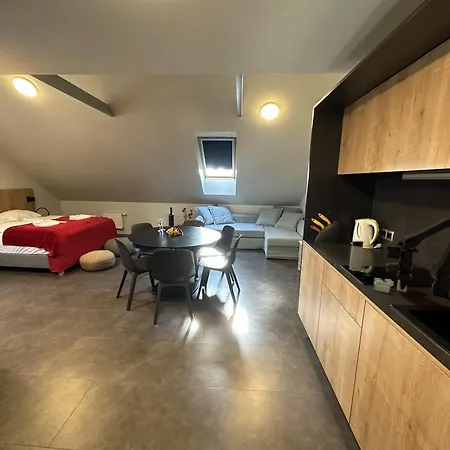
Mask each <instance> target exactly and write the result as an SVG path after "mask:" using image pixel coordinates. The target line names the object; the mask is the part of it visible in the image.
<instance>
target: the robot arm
mask: <svg viewBox="0 0 450 450" xmlns="http://www.w3.org/2000/svg"><path fill="white" fill-rule="evenodd" d="M447 228H450V218H441V219H440V220H438V221H436V222H435V223H433V224H431V225H429V226H427V227H425V228H423V229H420V230H419V231H417V232H413V233H409V234H406V235H403V236H402V237H401V239H400V241H398V242H397V243H396V244H395V245H389V244H386V246H385V247H384V249H383V252H382V253H383V258H384V259H394V260H398V262H396V261H395V262H389V263H385V266H386V267H385V268H386V269H387V272H391V271H396V273H397V274H396V279H398V280H400V287H401V290H404V288H405V287H406V286H407V287H408V285H409V283H411V282H412V281H413V275H412V268H413V265H414V264H413V262H414V255H415V253H420V251H419V250H418V249H417V246H419V245H421V243H422V242H423V241H424V240H426V239H427V238H430V237H431V236H433V235H435V234H438V233H440V232H441V231H443V230H445V229H447ZM429 275H430V276H431V277H432V279H433V280H434V282H433V283H432V284H431V285H432V286H431V292H432V294H433V296H434V295H435V296H440V297H444V298H450V242H449V243H448V245H447V247H446V249H445V251H444V253H443V254H442V256H441V259H440V260H439V261H438V262H437V263H436V262H433V263H432V264H431V267H430V268H429Z"/></svg>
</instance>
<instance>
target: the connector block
mask: <svg viewBox="0 0 450 450" xmlns="http://www.w3.org/2000/svg"><path fill="white" fill-rule="evenodd" d="M407 288H408V285H407V286H406V287H405V288H404V290H401V287H400V280H399V279H398V280H397V285H396V291H400V292H404V293H407Z"/></svg>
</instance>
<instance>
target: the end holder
mask: <svg viewBox="0 0 450 450" xmlns="http://www.w3.org/2000/svg"><path fill="white" fill-rule="evenodd" d="M373 289H374V290H373V291H378V292H382V293H387V294H390V290H391V286H390V283H385V282H380V281H375V283H374V282H373Z"/></svg>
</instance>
